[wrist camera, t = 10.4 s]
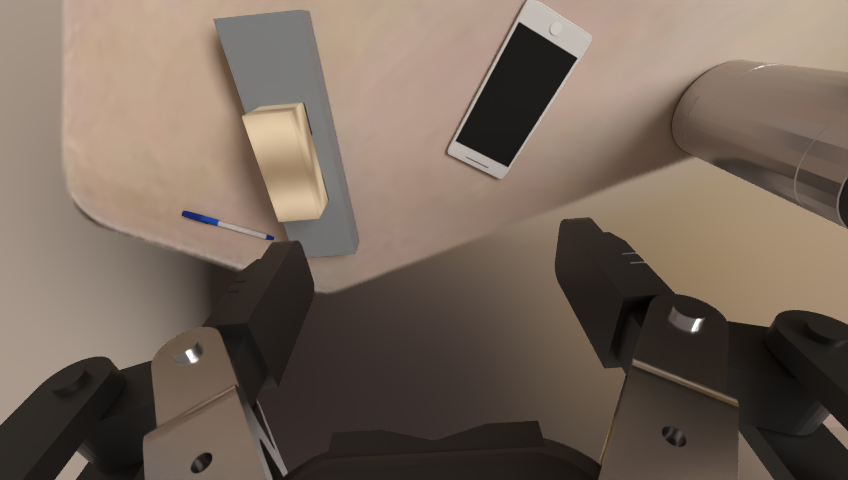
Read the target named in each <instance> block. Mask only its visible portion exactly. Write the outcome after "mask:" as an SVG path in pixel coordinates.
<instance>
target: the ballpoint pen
mask: <svg viewBox="0 0 848 480" xmlns="http://www.w3.org/2000/svg"><path fill="white" fill-rule="evenodd" d="M182 216H184V217H187V218H190V219H193V220H196V221H200V222H203V223H206V224H212V225H216V226H221V227H224V228H228V229H231V230H235V231H238V232H242V233H245V234H249V235H252V236H256V237H260V238H263V239H267V240H274V237H272V236H269V235H267V234H264V233H260V232H257V231H253V230H250V229H246V228H243V227H239V226H236V225H232V224H229V223H225V222H222V221H219V220H217V219H213V218H210V217H206V216H203V215H199V214H196V213H192V212H188V211H183V212H182Z"/></svg>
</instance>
